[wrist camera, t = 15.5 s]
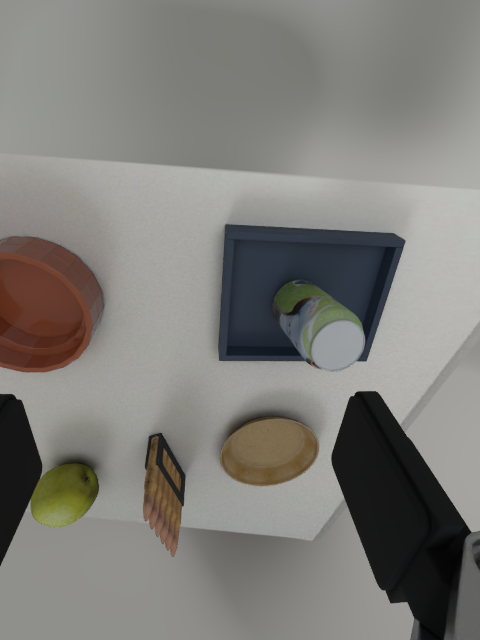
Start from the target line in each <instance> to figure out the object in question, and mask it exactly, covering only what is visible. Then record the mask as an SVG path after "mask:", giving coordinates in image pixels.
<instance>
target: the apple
mask: <svg viewBox="0 0 480 640" xmlns="http://www.w3.org/2000/svg"><path fill="white" fill-rule="evenodd" d="M98 491H99V484H98V478H97V476H96V474H95V472H94V470H93V469H92V468H90V467H88V466H86V465H83V464H77V463H73V464H65V465H61V466H57V467H55V468H53V469H51V470H50V471H48V472H47V473H46V474H45V475H43V476H42V477H41V479H40V480H39V481H38V483H37V486H36V488H35V490H34V492H33V495H32V497H31V512H32V515H33V517H34V519H35V520H36V521H38V522H39V523H41V524H43V525H46V526H49V527H62V526H66V525H69V524H71V523H73V522H75V521H77V520H78V519H79V518H81V517H82V516H83V515H84V514H85V513H86V512H87V511H88V510H89V509H90V507H91V506H92V504H93V503H94V501H95V499H96V497H97V495H98Z"/></svg>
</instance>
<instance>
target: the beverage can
mask: <svg viewBox="0 0 480 640" xmlns="http://www.w3.org/2000/svg"><path fill="white" fill-rule="evenodd" d="M272 312H273V316H274V318H275V320H276V321H277V322H278V324H279V325H280V327H281V328H282V329H283V331H284V332H285V333H286V335H287V336H288V338H289V339H290V340H291V342H292V343H293V344H294V346H295V347H296V349H297V350H298V351H299V353H300V354H301V355H302V357H303V358H304V360H305V361H306V362H307V363H308V364H310V365H311V366H313V367H315V368H318V369H323V370H326V371H331V372H333V371H341V370H344V369H346V368H348V367H350V366H351V365H353V364H354V363H355V362H356V361H357V360H358V359H359V357H360V356H361V354H362V352H363V350H364V346H365V336H364V332H363V327H362V324H361V322H360V320H359V318H358V317H357V316H356V315H355V314H354V313H352V312H351V311H350V310H348V309H347V308H346V307H344V306H343V305H342V304H340V303H339V302H338V301H336V300H335V299H334V298H332V297H331V296H330V295H328V294H327V293H326V292H324V291H323V290H322V289H320V288H319V287H318V286H316V285H315V284H313V283H312V282H310V281H307V280H294V281H291V282H289V283H287V284H285V285H284V286H283V287H281V288H280V289H279V291H278V292H277V293H276V295H275V297H274V300H273V304H272Z"/></svg>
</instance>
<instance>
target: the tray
mask: <svg viewBox="0 0 480 640" xmlns="http://www.w3.org/2000/svg"><path fill="white" fill-rule="evenodd" d="M404 244H405V240H404V239H402V238H401V237H399V236H397V235H396V234H394V233H377V232H359V231H340V230H321V229H302V228H283V227H265V226H246V225H227V224H226V225H225V240H224V258H223V275H222V293H221V311H220V328H219V346H218V350H219V361H305V360H304V358H303V357H302V355H301V354H300V353H299V351H298V350H297V349H296V347H295V346H294V344H293V343H292V342H291V340H290V339H289V338H288V336H287V335H286V333H285V332H284V331H283V329H282V328H281V327H280V325H279V324H278V322H277V321H276V320H275V318H274V316H273V312H272V304H273V300H274V297H275V295H276V293H277V292H278V291H279V289H280V288H281V287H283V286H284V285H285V284H287V283H289V282H291V281H294V280H307V281H310V282H312V283H313V284H315V285H316V286H318V287H319V288H320V289H322V290H323V291H324V292H326V293H327V294H328V295H330V296H331V297H332V298H334V299H335V300H336V301H338V302H339V303H340V304H342V305H343V306H344V307H346V308H347V309H348V310H350V311H351V312H352V313H354V314H355V315H356V316H357V317H358V318H359V320H360V322H361V324H362V327H363V332H364V336H365V346H364V350H363V352H362V354H361V356H360V357H359V359H358V360H357V361H367V358H368V355H369V352H370V349H371V346H372V343H373V340H374V337H375V334H376V331H377V328H378V325H379V321H380V318H381V315H382V312H383V309H384V306H385V303H386V300H387V297H388V294H389V291H390V288H391V284H392V281H393V278H394V275H395V272H396V269H397V266H398V263H399V260H400V257H401V254H402V251H403V247H404Z"/></svg>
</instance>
